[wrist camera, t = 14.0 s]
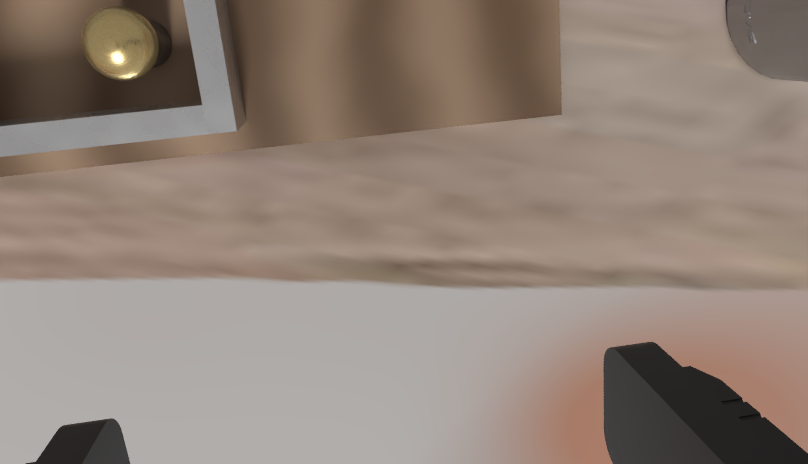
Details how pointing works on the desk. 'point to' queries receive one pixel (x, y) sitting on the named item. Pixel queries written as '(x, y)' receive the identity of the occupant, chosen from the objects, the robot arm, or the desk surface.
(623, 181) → the desk surface
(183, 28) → the brown wooden board
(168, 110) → the grey rectangular frame
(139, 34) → the post
